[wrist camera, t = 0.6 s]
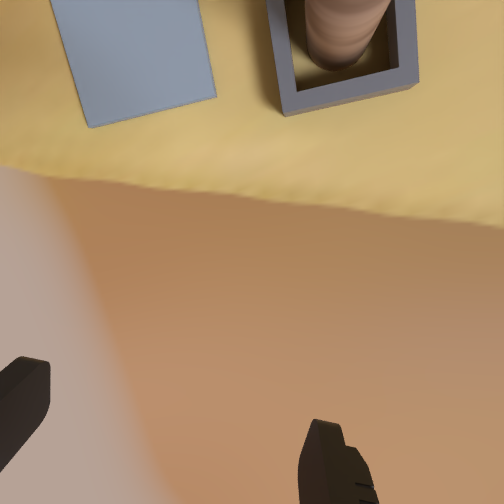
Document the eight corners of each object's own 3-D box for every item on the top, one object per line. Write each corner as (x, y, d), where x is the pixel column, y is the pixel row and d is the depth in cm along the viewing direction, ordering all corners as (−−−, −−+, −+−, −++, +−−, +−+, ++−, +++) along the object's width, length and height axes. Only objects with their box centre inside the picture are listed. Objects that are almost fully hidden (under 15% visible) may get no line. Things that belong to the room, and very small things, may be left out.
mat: (47, -26, 26) (41, -30, 26) (182, -77, 24) (179, -83, 23) (92, 128, 29) (88, 127, 29) (217, 97, 27) (215, 95, 26)
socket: (265, -17, 24) (260, -35, 22) (399, -60, 22) (410, -86, 20) (285, 117, 26) (282, 113, 24) (408, 89, 24) (419, 82, 22)
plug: (302, 11, 24) (294, -118, 13) (366, -8, 23) (419, -165, 12) (310, 78, 25) (311, 14, 14) (372, 62, 24) (426, -20, 13)
